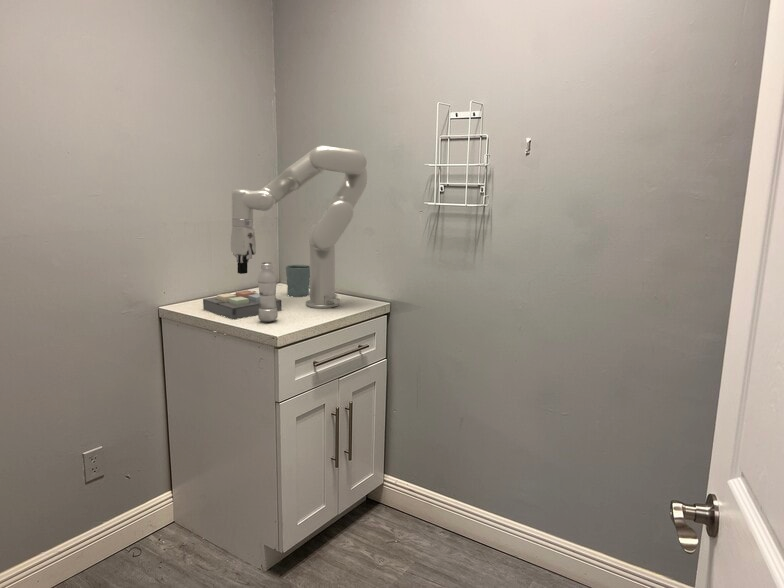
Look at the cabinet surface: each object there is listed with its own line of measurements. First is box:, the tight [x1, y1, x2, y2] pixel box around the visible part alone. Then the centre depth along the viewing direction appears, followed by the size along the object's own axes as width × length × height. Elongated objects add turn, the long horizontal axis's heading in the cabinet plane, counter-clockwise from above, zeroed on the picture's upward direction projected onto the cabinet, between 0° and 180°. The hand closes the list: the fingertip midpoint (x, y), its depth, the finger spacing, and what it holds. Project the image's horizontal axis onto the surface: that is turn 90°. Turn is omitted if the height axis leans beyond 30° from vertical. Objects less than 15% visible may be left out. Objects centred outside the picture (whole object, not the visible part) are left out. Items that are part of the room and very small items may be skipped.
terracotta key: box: [235, 289, 256, 298], centre depth 217 cm, size 5×5×2 cm
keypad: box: [202, 292, 283, 320], centre depth 212 cm, size 20×20×4 cm
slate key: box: [248, 293, 260, 302], centre depth 212 cm, size 5×5×2 cm
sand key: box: [216, 293, 236, 302], centre depth 212 cm, size 5×5×2 cm
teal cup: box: [285, 264, 310, 298], centre depth 240 cm, size 10×10×12 cm
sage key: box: [229, 297, 249, 305], centre depth 206 cm, size 5×5×2 cm
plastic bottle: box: [256, 261, 279, 323], centre depth 195 cm, size 6×7×20 cm
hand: (242, 273), depth 215 cm, fingers closed
